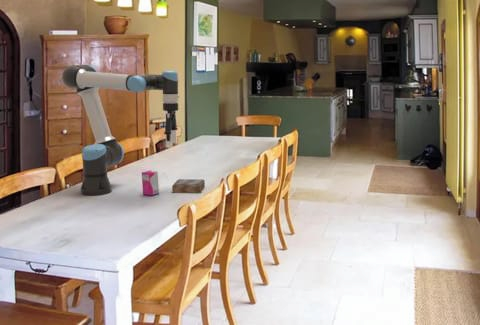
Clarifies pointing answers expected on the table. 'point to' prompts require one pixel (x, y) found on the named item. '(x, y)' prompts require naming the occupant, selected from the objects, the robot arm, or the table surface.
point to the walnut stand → (188, 186)
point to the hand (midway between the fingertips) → (171, 145)
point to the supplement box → (150, 183)
